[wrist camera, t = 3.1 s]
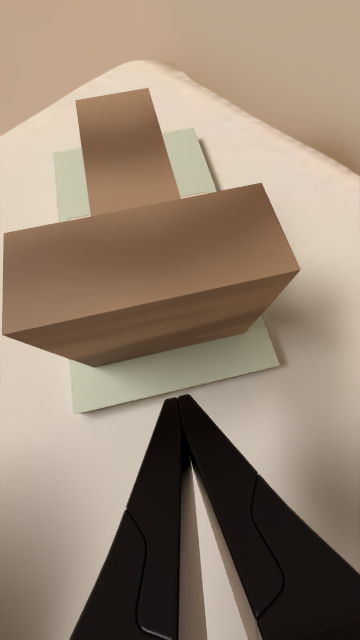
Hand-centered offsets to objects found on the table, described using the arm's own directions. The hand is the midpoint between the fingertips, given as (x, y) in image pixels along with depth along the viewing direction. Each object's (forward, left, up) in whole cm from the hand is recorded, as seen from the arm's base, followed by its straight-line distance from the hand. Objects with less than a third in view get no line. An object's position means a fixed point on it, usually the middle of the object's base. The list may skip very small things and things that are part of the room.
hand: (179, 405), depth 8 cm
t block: (+8, -3, -7) cm, 11 cm away
